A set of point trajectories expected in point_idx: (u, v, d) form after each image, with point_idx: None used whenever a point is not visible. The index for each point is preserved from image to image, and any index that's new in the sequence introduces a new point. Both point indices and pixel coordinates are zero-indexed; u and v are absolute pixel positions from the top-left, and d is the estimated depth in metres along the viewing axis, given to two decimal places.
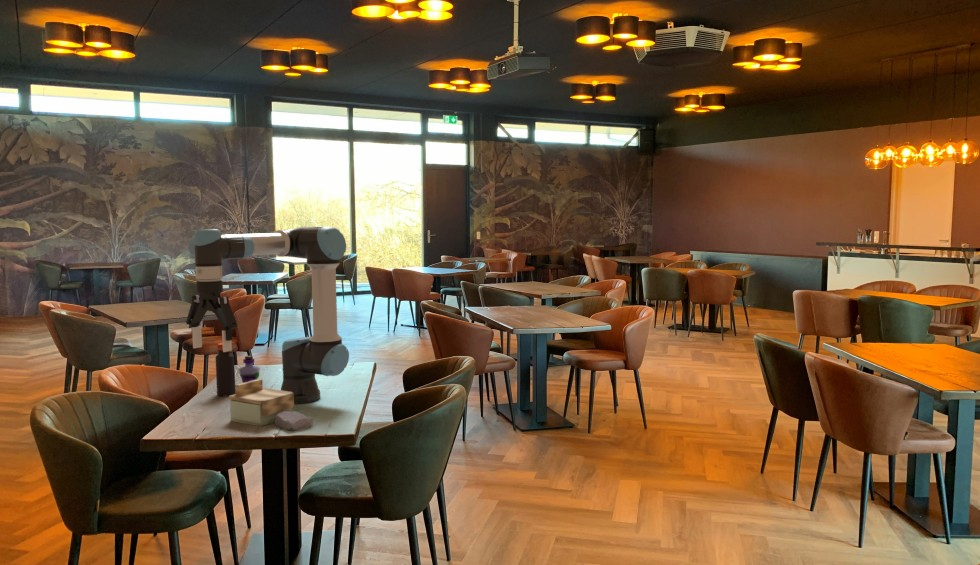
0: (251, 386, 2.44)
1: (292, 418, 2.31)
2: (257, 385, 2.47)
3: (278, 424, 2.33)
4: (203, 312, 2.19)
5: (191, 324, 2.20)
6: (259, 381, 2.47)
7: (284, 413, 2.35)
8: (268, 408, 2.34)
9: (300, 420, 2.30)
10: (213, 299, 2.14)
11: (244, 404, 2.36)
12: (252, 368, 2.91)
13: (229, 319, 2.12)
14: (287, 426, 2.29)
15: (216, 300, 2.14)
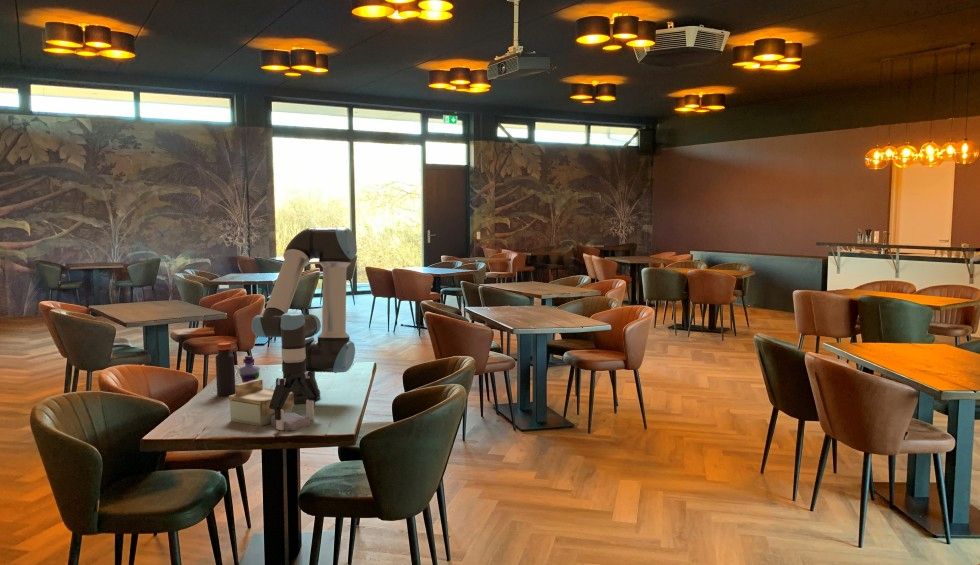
0: (251, 386, 2.44)
1: (289, 419, 2.30)
2: (257, 385, 2.47)
3: (275, 425, 2.33)
4: (303, 388, 2.37)
5: None
6: (259, 381, 2.47)
7: None
8: (268, 408, 2.34)
9: (298, 421, 2.30)
10: None
11: (244, 404, 2.36)
12: (252, 368, 2.91)
13: (271, 400, 2.27)
14: (285, 427, 2.28)
15: None
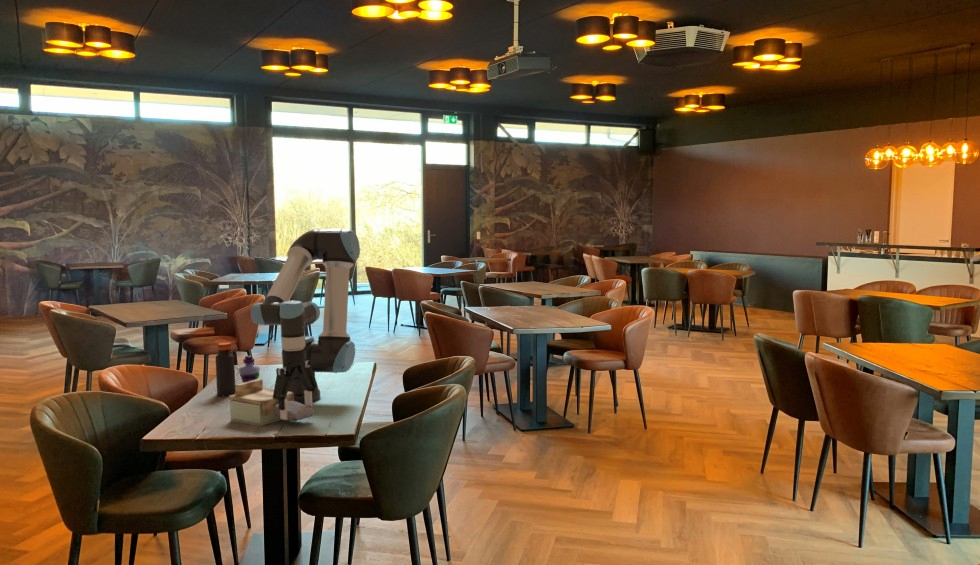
0: (251, 386, 2.44)
1: (293, 408, 2.32)
2: (257, 385, 2.47)
3: (278, 414, 2.34)
4: (302, 377, 2.37)
5: None
6: (259, 381, 2.47)
7: None
8: (268, 408, 2.34)
9: (302, 410, 2.31)
10: None
11: (244, 404, 2.36)
12: (252, 368, 2.91)
13: (274, 391, 2.28)
14: (289, 416, 2.30)
15: None
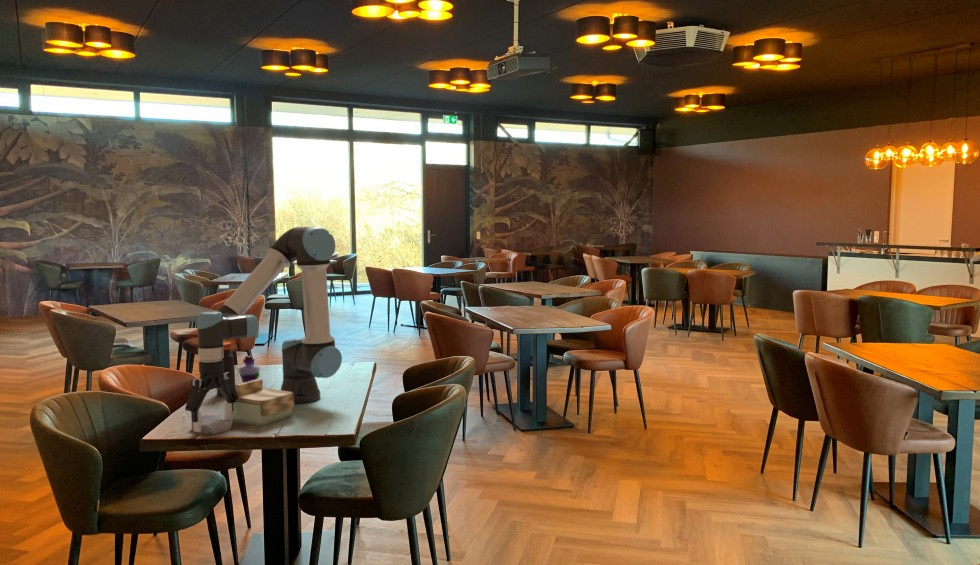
0: (251, 386, 2.44)
1: (210, 422, 2.28)
2: (257, 385, 2.47)
3: None
4: (221, 389, 2.32)
5: None
6: (259, 381, 2.47)
7: (201, 417, 2.31)
8: (268, 408, 2.34)
9: (218, 424, 2.27)
10: None
11: (244, 404, 2.36)
12: (252, 368, 2.91)
13: (187, 402, 2.23)
14: (205, 430, 2.25)
15: None
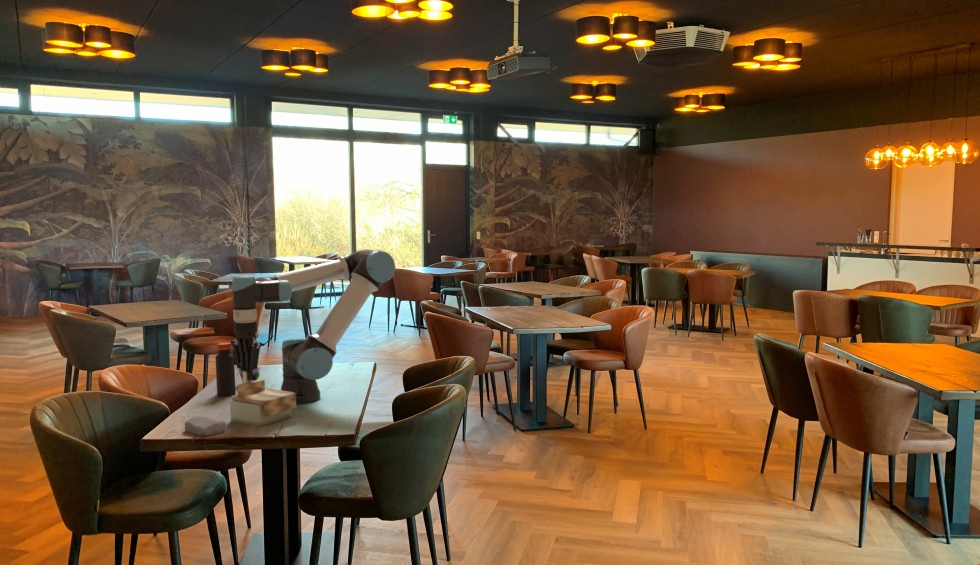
0: (253, 386, 2.44)
1: (203, 423, 2.26)
2: (259, 385, 2.46)
3: (188, 430, 2.28)
4: None
5: (241, 368, 2.44)
6: (261, 381, 2.47)
7: (195, 419, 2.29)
8: (270, 408, 2.33)
9: (212, 425, 2.25)
10: (249, 339, 2.41)
11: (244, 404, 2.36)
12: None
13: (253, 363, 2.42)
14: (198, 432, 2.24)
15: (251, 339, 2.41)
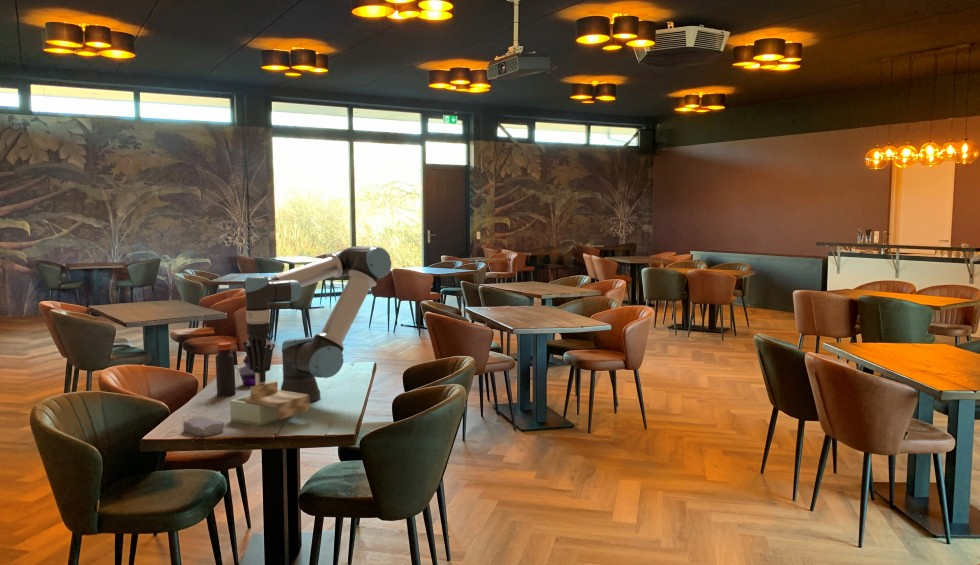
0: (266, 388, 2.41)
1: (202, 424, 2.25)
2: (272, 387, 2.43)
3: (187, 430, 2.27)
4: (258, 353, 2.42)
5: (254, 369, 2.41)
6: (274, 383, 2.44)
7: (193, 419, 2.29)
8: (284, 411, 2.30)
9: (211, 425, 2.25)
10: (262, 340, 2.38)
11: (244, 404, 2.36)
12: None
13: (266, 365, 2.38)
14: (197, 432, 2.23)
15: (264, 341, 2.38)
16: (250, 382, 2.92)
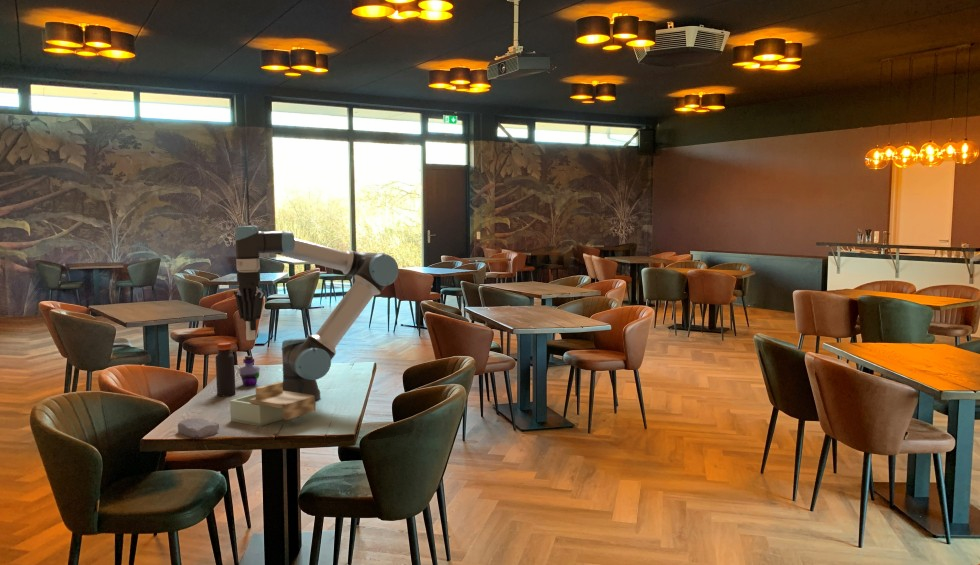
0: (271, 389, 2.40)
1: (197, 425, 2.24)
2: (277, 388, 2.42)
3: (181, 432, 2.26)
4: None
5: (244, 318, 2.44)
6: (279, 384, 2.43)
7: (188, 420, 2.27)
8: (290, 412, 2.29)
9: (206, 427, 2.24)
10: (252, 288, 2.42)
11: (244, 404, 2.36)
12: (252, 368, 2.91)
13: (256, 312, 2.42)
14: (192, 433, 2.22)
15: (255, 289, 2.41)
16: (250, 382, 2.92)
